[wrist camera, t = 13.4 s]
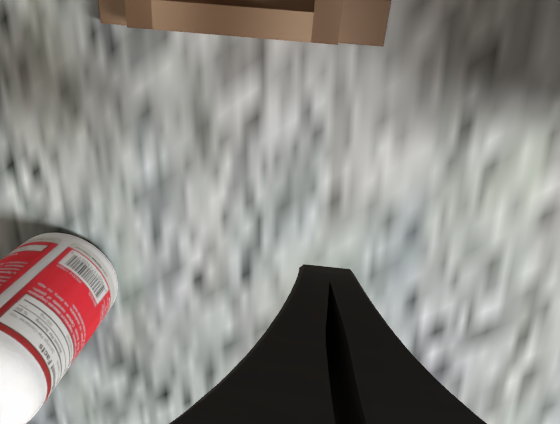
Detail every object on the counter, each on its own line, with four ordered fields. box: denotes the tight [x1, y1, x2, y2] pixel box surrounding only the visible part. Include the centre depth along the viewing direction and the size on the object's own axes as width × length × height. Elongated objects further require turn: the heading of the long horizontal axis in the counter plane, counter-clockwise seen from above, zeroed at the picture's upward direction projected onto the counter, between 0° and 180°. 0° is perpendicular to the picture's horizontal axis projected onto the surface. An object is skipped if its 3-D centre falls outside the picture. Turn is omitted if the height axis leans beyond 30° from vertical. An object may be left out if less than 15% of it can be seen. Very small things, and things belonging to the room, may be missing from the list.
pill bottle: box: [0, 233, 118, 424], centre depth 19 cm, size 6×6×11 cm
